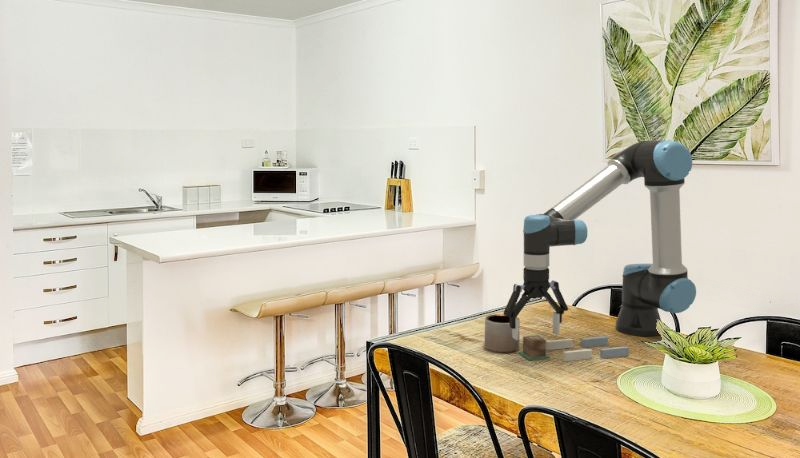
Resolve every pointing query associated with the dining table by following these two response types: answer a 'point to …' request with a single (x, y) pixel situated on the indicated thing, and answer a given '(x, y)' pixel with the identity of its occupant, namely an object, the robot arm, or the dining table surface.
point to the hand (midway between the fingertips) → (535, 336)
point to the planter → (499, 334)
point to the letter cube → (534, 346)
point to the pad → (533, 357)
